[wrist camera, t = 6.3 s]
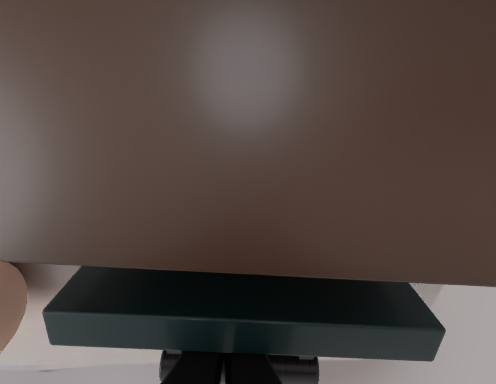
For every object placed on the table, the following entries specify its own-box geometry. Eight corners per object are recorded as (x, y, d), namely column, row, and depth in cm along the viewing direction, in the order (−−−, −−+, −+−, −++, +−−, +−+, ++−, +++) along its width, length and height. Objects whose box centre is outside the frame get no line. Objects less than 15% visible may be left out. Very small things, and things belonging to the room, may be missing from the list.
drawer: (335, 305, 16) (394, 456, 10) (144, 296, 16) (73, 445, 9) (423, -88, 10) (754, -398, 3) (110, -116, 9) (-168, -513, 3)
